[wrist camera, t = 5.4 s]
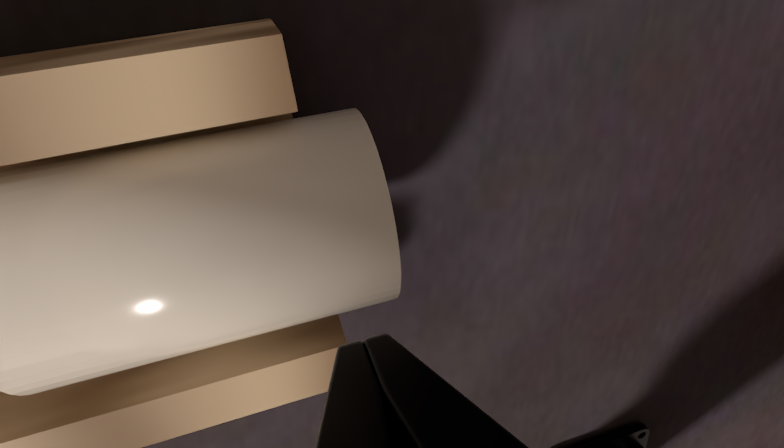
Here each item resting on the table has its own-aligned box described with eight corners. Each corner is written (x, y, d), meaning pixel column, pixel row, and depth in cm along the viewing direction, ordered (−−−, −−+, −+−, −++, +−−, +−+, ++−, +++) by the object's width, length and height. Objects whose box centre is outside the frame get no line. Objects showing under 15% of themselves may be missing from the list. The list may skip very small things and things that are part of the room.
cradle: (270, 18, 12) (281, 33, 9) (333, 307, 17) (354, 382, 14) (-411, 116, 9) (-724, 186, 6) (-109, 426, 14) (-205, 551, 11)
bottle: (378, 114, 9) (-427, 259, 7) (412, 334, 10) (-228, 514, 8) (339, 103, 13) (-148, 187, 11) (367, 258, 15) (-54, 360, 13)
